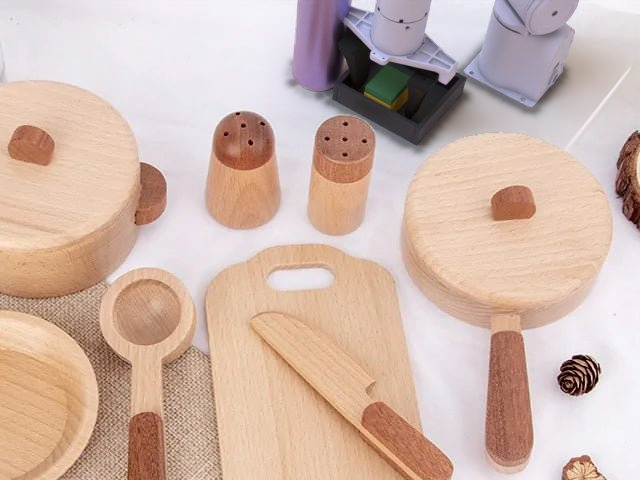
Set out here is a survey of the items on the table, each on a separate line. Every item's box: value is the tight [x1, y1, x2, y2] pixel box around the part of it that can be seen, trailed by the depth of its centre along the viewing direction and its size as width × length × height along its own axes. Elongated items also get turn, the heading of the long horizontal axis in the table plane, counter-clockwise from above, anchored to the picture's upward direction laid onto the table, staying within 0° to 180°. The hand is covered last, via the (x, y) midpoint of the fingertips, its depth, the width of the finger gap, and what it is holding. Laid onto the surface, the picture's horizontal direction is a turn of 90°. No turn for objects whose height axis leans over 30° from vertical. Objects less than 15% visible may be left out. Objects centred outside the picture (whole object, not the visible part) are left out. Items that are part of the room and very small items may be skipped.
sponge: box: [364, 64, 410, 112], centre depth 125 cm, size 4×4×4 cm
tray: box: [331, 60, 468, 146], centre depth 126 cm, size 12×10×3 cm
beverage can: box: [291, 0, 353, 92], centre depth 122 cm, size 6×6×15 cm
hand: (385, 98), depth 126 cm, fingers open, 7 cm apart
